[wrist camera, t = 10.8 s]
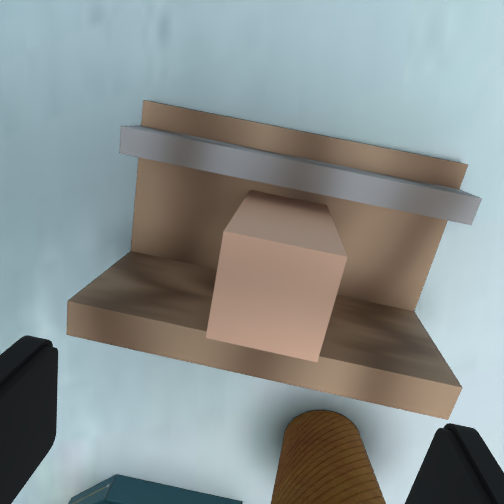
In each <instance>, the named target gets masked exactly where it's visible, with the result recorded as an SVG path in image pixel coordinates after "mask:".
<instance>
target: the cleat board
mask: <svg viewBox="0 0 504 504" xmlns="http://www.w3.org/2000/svg"><path fill="white" fill-rule="evenodd" d="M119 153H120V154H125V155H130V156H135V157H139V159H138V170H137V182H136V194H135V206H134V218H133V230H132V242H131V251H130V252H129V253H127V254H126V255H125V256H124V257H122V258H121V259H120V260H119V261H117V262H116V263H115V264H114V265H112V266H111V267H110V268H109V269H107V270H106V271H105V272H103V273H102V274H101V275H100V276H98V277H97V278H96V279H95V280H93V281H92V282H91V283H90V284H88V285H87V286H86V287H85V288H83V289H82V290H81V291H79V292H78V293H77V294H76V295H74V296H73V297H72V298H71V299H69V300H68V302H67V335H70V336H75V337H79V338H84V339H88V340H93V341H97V342H102V343H106V344H110V345H115V346H119V347H124V348H128V349H133V350H137V351H142V352H146V353H151V354H155V355H160V356H164V357H169V358H173V359H178V360H182V361H187V362H191V363H196V364H200V365H205V366H209V367H214V368H218V369H223V370H227V371H232V372H236V373H241V374H245V375H249V376H254V377H258V378H263V379H267V380H272V381H276V382H281V383H285V384H290V385H294V386H299V387H303V388H308V389H312V390H317V391H321V392H326V393H330V394H335V395H339V396H344V397H348V398H353V399H357V400H362V401H366V402H371V403H375V404H380V405H384V406H388V407H393V408H397V409H402V410H406V411H411V412H415V413H420V414H424V415H429V416H433V417H438V418H442V419H447V420H448V419H449V416H450V414H451V412H452V410H453V408H454V405H455V403H456V401H457V399H458V396H459V394H460V392H461V390H462V386H461V385H460V383H459V381H458V380H457V378H456V377H455V375H454V374H453V372H452V370H451V369H450V367H449V366H448V364H447V363H446V361H445V359H444V358H443V356H442V355H441V353H440V351H439V350H438V348H437V347H436V345H435V344H434V342H433V340H432V339H431V337H430V336H429V334H428V333H427V331H426V329H425V328H424V326H423V325H422V323H421V321H420V320H419V318H418V317H417V315H416V314H415V312H414V310H415V308H416V305H417V302H418V300H419V297H420V294H421V291H422V289H423V286H424V283H425V281H426V278H427V275H428V272H429V270H430V267H431V264H432V262H433V259H434V256H435V253H436V251H437V248H438V245H439V243H440V240H441V237H442V234H443V232H444V229H445V226H446V224H447V221H448V220H449V221H453V222H458V223H463V224H468V225H472V222H473V220H474V217H475V215H476V212H477V210H478V207H479V204H480V202H481V199H482V198H479V197H477V196H474V195H472V194H469V193H467V192H464V191H462V190H460V189H459V188H460V186H461V183H462V180H463V178H464V175H465V172H466V169H467V167H468V164H464V163H459V162H454V161H449V160H444V159H439V158H434V157H429V156H424V155H419V154H414V153H409V152H403V151H398V150H393V149H388V148H383V147H378V146H373V145H368V144H363V143H358V142H353V141H348V140H343V139H338V138H333V137H328V136H323V135H318V134H313V133H308V132H303V131H298V130H292V129H287V128H282V127H277V126H272V125H267V124H262V123H257V122H252V121H247V120H242V119H237V118H232V117H227V116H222V115H217V114H212V113H207V112H202V111H197V110H192V109H186V108H181V107H176V106H171V105H166V104H161V103H156V102H151V101H145V100H143V111H142V123H141V126H121V135H120V149H119ZM250 190H255V191H260V192H265V193H270V194H275V195H280V196H285V197H290V198H294V199H299V200H304V201H309V202H314V203H319V204H324V205H327V206H328V209H329V211H330V214H331V216H332V219H333V221H334V224H335V227H336V229H337V232H338V234H339V237H340V239H341V242H342V244H343V247H344V249H345V252H346V254H347V261H346V264H345V268H344V271H343V275H342V278H341V282H340V285H339V288H338V292H337V295H336V299H335V302H334V306H333V309H332V313H331V316H330V320H329V323H328V327H327V330H326V334H325V337H324V341H323V344H322V348H321V351H320V355H319V358H318V362H313V361H308V360H304V359H299V358H295V357H290V356H286V355H281V354H277V353H272V352H267V351H263V350H258V349H254V348H249V347H245V346H240V345H236V344H231V343H227V342H222V341H217V340H213V339H208V338H206V333H207V327H208V321H209V315H210V309H211V304H212V298H213V292H214V286H215V280H216V274H217V268H218V262H219V256H220V250H221V244H222V238H223V232H224V230H225V228H226V227H227V225H228V223H229V222H230V220H231V219H232V217H233V216H234V214H235V213H236V211H237V209H238V208H239V206H240V205H241V203H242V202H243V200H244V199H245V197H246V196H247V194H248V192H249V191H250Z"/></svg>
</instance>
